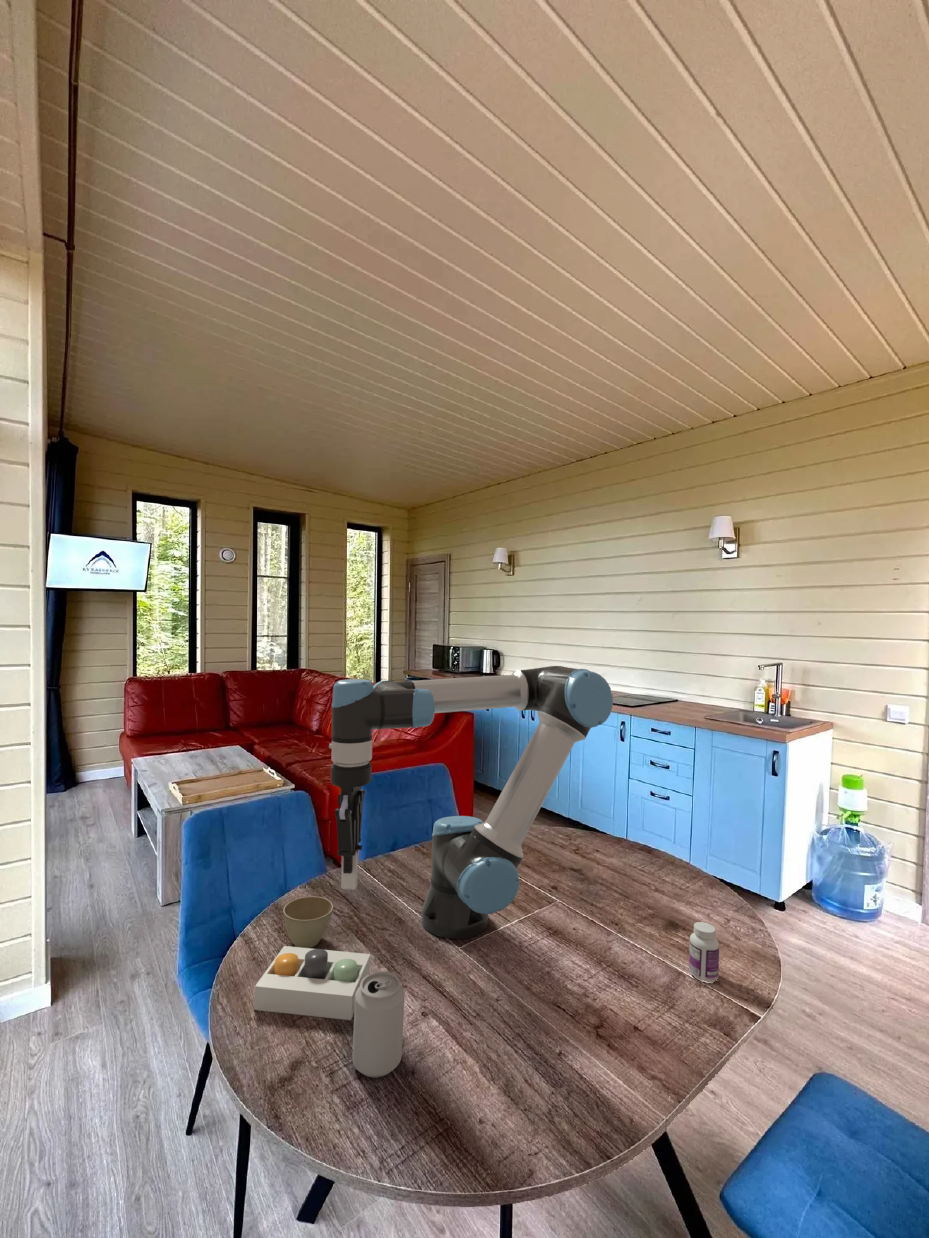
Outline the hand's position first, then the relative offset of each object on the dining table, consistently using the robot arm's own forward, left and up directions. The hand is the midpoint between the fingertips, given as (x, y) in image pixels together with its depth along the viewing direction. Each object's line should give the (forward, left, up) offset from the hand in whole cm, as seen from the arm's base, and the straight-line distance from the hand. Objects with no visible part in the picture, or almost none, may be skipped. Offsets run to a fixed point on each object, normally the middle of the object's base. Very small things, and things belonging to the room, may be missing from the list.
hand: (349, 887), depth 103 cm
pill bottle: (-69, -12, -17) cm, 72 cm away
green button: (-1, +4, -16) cm, 16 cm away
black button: (+4, +4, -15) cm, 16 cm away
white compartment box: (+4, +4, -17) cm, 18 cm away
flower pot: (+11, -10, -17) cm, 23 cm away
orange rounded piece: (+10, +4, -16) cm, 19 cm away
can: (-11, +18, -17) cm, 27 cm away
